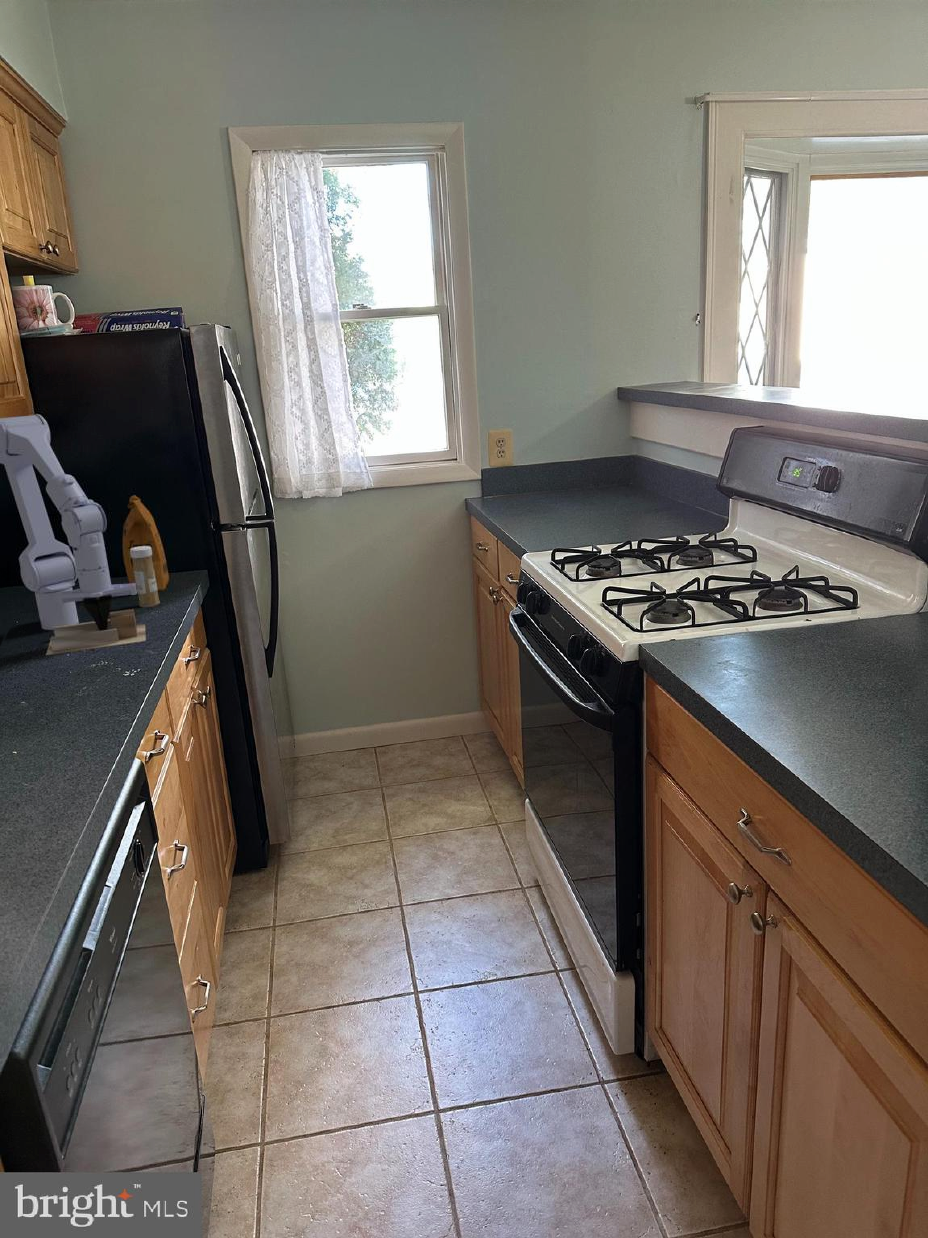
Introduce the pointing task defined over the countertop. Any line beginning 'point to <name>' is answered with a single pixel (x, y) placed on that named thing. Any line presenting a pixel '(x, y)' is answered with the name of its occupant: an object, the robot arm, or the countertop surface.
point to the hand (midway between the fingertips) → (104, 633)
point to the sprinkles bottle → (145, 576)
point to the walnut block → (124, 623)
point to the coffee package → (143, 542)
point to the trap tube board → (88, 637)
